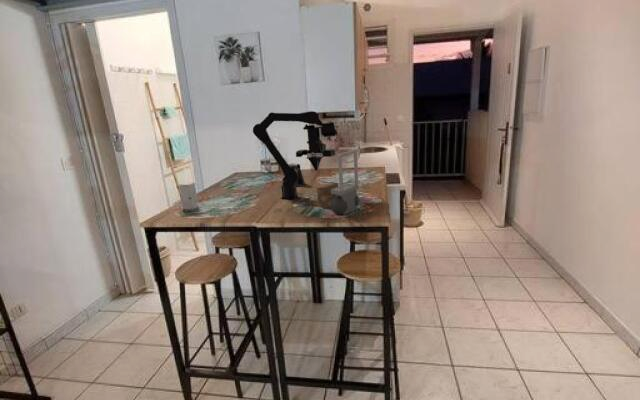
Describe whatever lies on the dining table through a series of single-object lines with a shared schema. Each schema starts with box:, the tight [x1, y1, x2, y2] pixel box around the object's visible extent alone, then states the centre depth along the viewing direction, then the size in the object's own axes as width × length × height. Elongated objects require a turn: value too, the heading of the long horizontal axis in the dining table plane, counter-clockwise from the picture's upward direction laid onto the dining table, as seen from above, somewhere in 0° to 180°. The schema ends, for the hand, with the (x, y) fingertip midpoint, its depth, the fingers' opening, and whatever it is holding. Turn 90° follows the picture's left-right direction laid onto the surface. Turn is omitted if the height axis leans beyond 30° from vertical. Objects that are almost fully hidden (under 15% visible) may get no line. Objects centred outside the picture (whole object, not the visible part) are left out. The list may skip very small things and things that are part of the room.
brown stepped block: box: [309, 181, 339, 210], centre depth 152 cm, size 16×10×9 cm, turn 50°
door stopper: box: [288, 163, 306, 188], centre depth 194 cm, size 9×6×12 cm, turn 146°
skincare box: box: [178, 181, 199, 210], centre depth 162 cm, size 6×4×12 cm
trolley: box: [330, 149, 360, 216], centre depth 140 cm, size 7×12×25 cm, turn 140°
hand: (316, 170), depth 168 cm, fingers closed
